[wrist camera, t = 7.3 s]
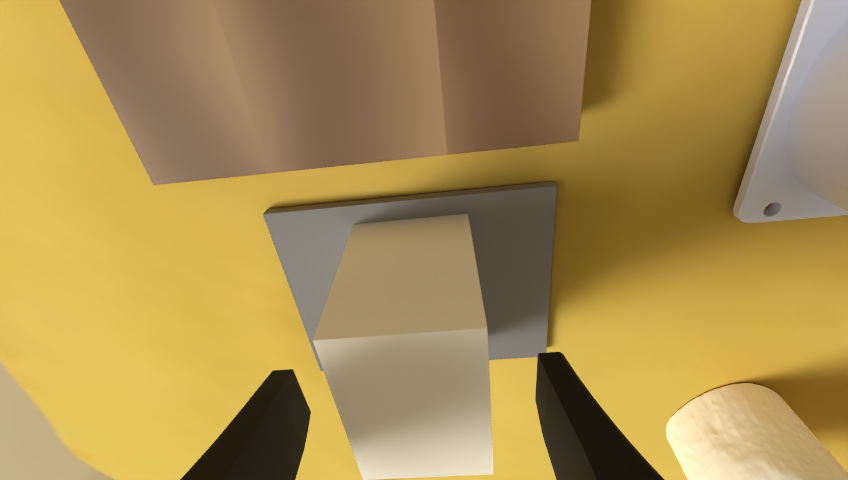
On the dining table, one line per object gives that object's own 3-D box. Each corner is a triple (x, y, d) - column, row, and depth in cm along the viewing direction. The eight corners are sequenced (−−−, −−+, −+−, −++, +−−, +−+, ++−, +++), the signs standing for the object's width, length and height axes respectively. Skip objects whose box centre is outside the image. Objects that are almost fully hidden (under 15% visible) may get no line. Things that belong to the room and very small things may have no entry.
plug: (468, 213, 13) (487, 328, 9) (475, 339, 16) (493, 474, 12) (353, 224, 14) (312, 340, 9) (382, 346, 17) (363, 479, 12)
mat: (554, 181, 13) (557, 185, 13) (543, 349, 17) (545, 356, 17) (267, 208, 14) (263, 214, 14) (322, 363, 18) (320, 370, 18)
